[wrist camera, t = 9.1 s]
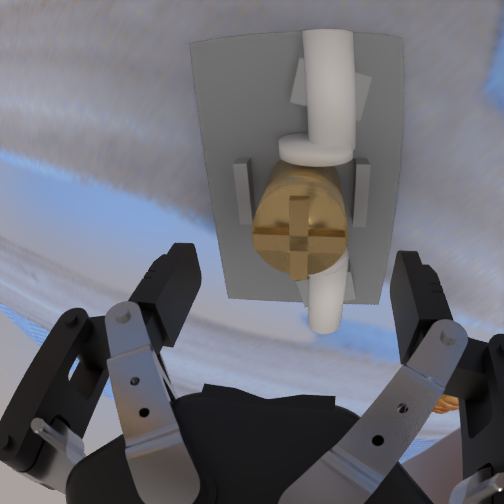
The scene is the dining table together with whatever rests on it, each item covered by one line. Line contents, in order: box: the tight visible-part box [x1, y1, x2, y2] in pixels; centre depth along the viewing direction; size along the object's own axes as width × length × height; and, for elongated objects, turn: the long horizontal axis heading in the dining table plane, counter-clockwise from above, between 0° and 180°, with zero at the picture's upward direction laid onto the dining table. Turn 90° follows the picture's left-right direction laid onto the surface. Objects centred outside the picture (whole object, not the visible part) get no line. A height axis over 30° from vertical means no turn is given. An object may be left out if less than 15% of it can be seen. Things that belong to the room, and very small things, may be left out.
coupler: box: [251, 159, 348, 280], centre depth 16 cm, size 4×4×7 cm
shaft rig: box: [189, 29, 404, 334], centre depth 18 cm, size 19×12×5 cm, turn 5°
